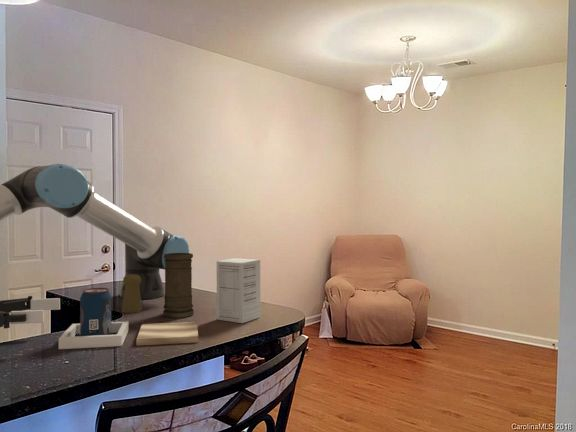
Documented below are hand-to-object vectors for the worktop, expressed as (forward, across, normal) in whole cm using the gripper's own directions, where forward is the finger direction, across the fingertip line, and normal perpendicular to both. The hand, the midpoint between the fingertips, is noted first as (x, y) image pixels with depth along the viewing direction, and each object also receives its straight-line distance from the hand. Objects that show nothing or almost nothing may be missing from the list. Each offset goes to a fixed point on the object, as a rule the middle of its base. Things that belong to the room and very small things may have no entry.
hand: (52, 309), depth 112 cm
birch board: (+27, 0, -8) cm, 28 cm away
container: (+29, -23, -8) cm, 38 cm away
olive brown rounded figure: (+15, -31, -8) cm, 35 cm away
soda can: (+10, 0, -8) cm, 12 cm away
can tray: (+10, 0, -8) cm, 12 cm away
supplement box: (+46, -15, -8) cm, 49 cm away
